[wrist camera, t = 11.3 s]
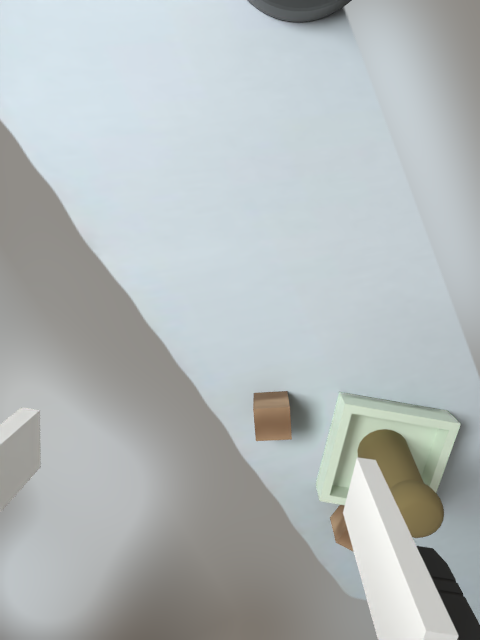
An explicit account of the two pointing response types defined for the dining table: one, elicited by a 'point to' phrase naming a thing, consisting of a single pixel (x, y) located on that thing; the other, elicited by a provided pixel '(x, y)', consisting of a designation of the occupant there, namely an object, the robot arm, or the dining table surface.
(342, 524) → the walnut cube
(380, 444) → the olive tall rounded piece
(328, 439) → the tray
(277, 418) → the walnut cube
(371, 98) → the dining table surface
